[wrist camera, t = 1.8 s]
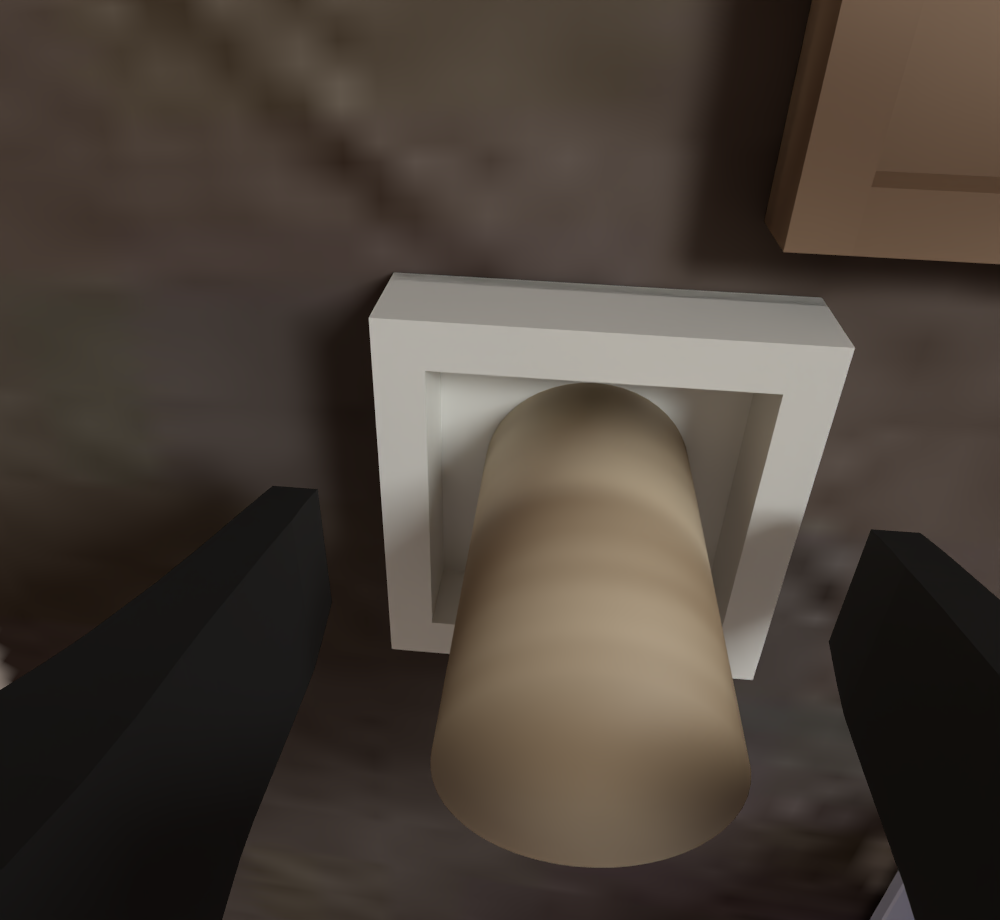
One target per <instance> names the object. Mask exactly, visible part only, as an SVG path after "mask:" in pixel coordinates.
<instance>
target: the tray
mask: <svg viewBox="0 0 1000 920" xmlns="http://www.w3.org/2000/svg"><path fill="white" fill-rule="evenodd" d="M764 222H765V224H766V226H767V227H768V229H769V230H770V232H771V233H772V235H773V237H774V238H775V240H776V241H777V243H778V245H779V246H780V248H781V249H782V251H783V252H790V253H808V254H826V255H844V256H862V257H880V258H897V259H915V260H933V261H951V262H969V263H987V264H1000V0H812V2H811V7H810V11H809V16H808V21H807V25H806V30H805V34H804V39H803V44H802V48H801V53H800V58H799V62H798V67H797V72H796V76H795V81H794V85H793V90H792V95H791V99H790V104H789V109H788V113H787V118H786V122H785V127H784V132H783V136H782V141H781V146H780V150H779V155H778V160H777V164H776V169H775V173H774V178H773V183H772V187H771V192H770V197H769V201H768V206H767V211H766V215H765V220H764Z"/></svg>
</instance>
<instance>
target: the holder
mask: <svg viewBox="0 0 1000 920" xmlns="http://www.w3.org/2000/svg"><path fill="white" fill-rule="evenodd" d="M369 331H370V345H371V359H372V374H373V388H374V402H375V416H376V431H377V445H378V459H379V474H380V488H381V502H382V516H383V531H384V545H385V559H386V574H387V588H388V602H389V617H390V631H391V645H392V649H398V650H410V651H422V652H433V653H445V654H450V649H451V643H452V638H453V632H454V627H455V622H456V616H457V611H458V605H459V600H460V595H461V589H462V584H463V578H464V573H465V568H466V562H467V557H468V551H469V546H470V541H471V535H472V530H473V524H474V519H475V513H476V508H477V503H478V497H479V492H480V486H481V481H482V476H483V470H484V465H485V459H486V454H487V450H488V446H489V443H490V441H491V438H492V436H493V434H494V432H495V430H496V429H497V427H498V426H499V424H500V423H501V421H502V420H503V419H504V418H505V417H506V416H507V414H508V413H509V412H511V411H512V410H513V409H514V408H515V407H516V406H517V405H519V404H520V403H522V402H523V401H525V400H526V399H528V398H529V397H531V396H533V395H535V394H537V393H539V392H542V391H545V390H548V389H550V388H553V387H558V386H562V385H566V384H575V383H600V384H608V385H613V386H617V387H621V388H624V389H627V390H629V391H632V392H635V393H637V394H639V395H641V396H643V397H645V398H646V399H648V400H650V401H651V402H652V403H654V404H655V405H657V406H658V407H659V408H660V409H661V410H663V411H664V412H665V413H666V414H667V415H668V416H669V418H670V419H671V420H672V421H673V423H674V424H675V425H676V427H677V428H678V430H679V432H680V434H681V435H682V438H683V440H684V443H685V446H686V450H687V455H688V459H689V464H690V469H691V474H692V479H693V484H694V489H695V494H696V499H697V504H698V509H699V514H700V519H701V524H702V529H703V534H704V539H705V544H706V549H707V554H708V559H709V564H710V569H711V574H712V579H713V584H714V589H715V594H716V599H717V604H718V609H719V614H720V619H721V624H722V629H723V634H724V639H725V643H726V648H727V653H728V658H729V663H730V668H731V673H732V678H735V679H747V680H753V677H754V674H755V671H756V668H757V664H758V661H759V658H760V655H761V651H762V648H763V645H764V642H765V638H766V635H767V632H768V629H769V625H770V622H771V619H772V616H773V612H774V609H775V606H776V603H777V599H778V596H779V593H780V590H781V586H782V583H783V580H784V577H785V573H786V570H787V567H788V564H789V560H790V557H791V554H792V551H793V548H794V544H795V541H796V538H797V535H798V531H799V528H800V525H801V522H802V518H803V515H804V512H805V509H806V505H807V502H808V499H809V496H810V492H811V489H812V486H813V483H814V479H815V476H816V473H817V470H818V466H819V463H820V460H821V457H822V453H823V450H824V447H825V444H826V440H827V437H828V434H829V431H830V427H831V424H832V421H833V418H834V414H835V411H836V408H837V405H838V401H839V398H840V395H841V392H842V388H843V385H844V382H845V379H846V375H847V372H848V369H849V366H850V362H851V359H852V356H853V353H854V349H855V347H854V346H853V344H852V343H851V341H850V340H849V338H848V337H847V335H846V334H845V332H844V331H843V329H842V328H841V326H840V325H839V323H838V322H837V320H836V319H835V317H834V316H833V314H832V312H831V311H830V309H829V308H828V306H827V305H826V303H825V302H824V300H823V299H822V298H819V297H802V296H785V295H768V294H751V293H734V292H717V291H700V290H683V289H666V288H649V287H632V286H615V285H598V284H581V283H564V282H547V281H530V280H513V279H496V278H479V277H462V276H445V275H428V274H411V273H393V275H392V277H391V278H390V280H389V282H388V284H387V286H386V287H385V289H384V291H383V293H382V295H381V296H380V298H379V300H378V302H377V304H376V305H375V307H374V309H373V311H372V313H371V314H370V316H369Z"/></svg>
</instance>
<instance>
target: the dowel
mask: <svg viewBox="0 0 1000 920" xmlns="http://www.w3.org/2000/svg"><path fill="white" fill-rule="evenodd" d="M430 768H431V775H432V780H433V783H434V786H435V788H436V791H437V793H438V795H439V796H440V798H441V800H442V802H443V803H444V804H445V806H446V807H447V808H448V809H449V811H450V812H451V813H452V814H453V815H454V816H455V817H456V818H457V819H458V820H459V821H460V822H461V823H462V824H464V825H465V826H466V827H468V828H469V829H470V830H471V831H473V832H474V833H476V834H477V835H479V836H481V837H482V838H484V839H486V840H487V841H489V842H491V843H493V844H495V845H497V846H499V847H501V848H503V849H506V850H509V851H511V852H514V853H516V854H519V855H522V856H526V857H529V858H532V859H536V860H540V861H544V862H549V863H554V864H560V865H567V866H575V867H590V868H613V867H626V866H635V865H641V864H647V863H652V862H656V861H660V860H665V859H668V858H671V857H674V856H677V855H680V854H683V853H685V852H687V851H690V850H692V849H694V848H697V847H699V846H700V845H702V844H704V843H706V842H707V841H709V840H711V839H712V838H714V837H715V836H716V835H718V834H719V833H720V832H722V831H723V830H724V829H725V828H726V827H727V826H728V825H729V824H730V823H731V822H732V821H733V820H734V819H735V818H736V816H737V815H738V813H739V812H740V811H741V809H742V808H743V806H744V803H745V801H746V799H747V797H748V794H749V789H750V785H751V768H750V763H749V758H748V753H747V748H746V743H745V738H744V733H743V728H742V723H741V718H740V713H739V708H738V703H737V698H736V693H735V688H734V683H733V678H732V673H731V668H730V663H729V658H728V653H727V648H726V643H725V639H724V634H723V629H722V624H721V619H720V614H719V609H718V604H717V599H716V594H715V589H714V584H713V579H712V574H711V569H710V564H709V559H708V554H707V549H706V544H705V539H704V534H703V529H702V524H701V519H700V514H699V509H698V504H697V499H696V494H695V489H694V484H693V479H692V474H691V469H690V464H689V459H688V455H687V450H686V446H685V443H684V440H683V438H682V435H681V434H680V432H679V430H678V428H677V427H676V425H675V424H674V423H673V421H672V420H671V419H670V418H669V416H668V415H667V414H666V413H665V412H664V411H663V410H661V409H660V408H659V407H658V406H657V405H655V404H654V403H652V402H651V401H650V400H648V399H646V398H645V397H643V396H641V395H639V394H637V393H635V392H632V391H629V390H627V389H624V388H621V387H617V386H613V385H608V384H600V383H575V384H566V385H562V386H558V387H553V388H550V389H548V390H545V391H542V392H539V393H537V394H535V395H533V396H531V397H529V398H528V399H526V400H525V401H523V402H522V403H520V404H519V405H517V406H516V407H515V408H514V409H513V410H512V411H511V412H509V413H508V414H507V416H506V417H505V418H504V419H503V420H502V421H501V423H500V424H499V426H498V427H497V429H496V430H495V432H494V434H493V436H492V438H491V441H490V443H489V446H488V450H487V454H486V459H485V465H484V470H483V476H482V481H481V486H480V492H479V497H478V503H477V508H476V513H475V519H474V524H473V530H472V535H471V541H470V546H469V551H468V557H467V562H466V568H465V573H464V578H463V584H462V589H461V595H460V600H459V605H458V611H457V616H456V622H455V627H454V632H453V638H452V643H451V649H450V654H449V659H448V665H447V670H446V676H445V681H444V686H443V692H442V697H441V703H440V708H439V713H438V719H437V724H436V730H435V735H434V741H433V746H432V751H431V762H430Z"/></svg>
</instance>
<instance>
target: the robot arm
mask: <svg viewBox="0 0 1000 920" xmlns="http://www.w3.org/2000/svg"><path fill="white" fill-rule="evenodd" d="M331 603H332V600H331V592H330V584H329V576H328V568H327V560H326V552H325V544H324V536H323V528H322V520H321V513H320V505H319V497H318V489H307V488H293V487H279V486H272V487H271V488H270V489H269V490H267V491H266V492H265V493H264V494H262V495H261V496H260V497H259V498H257V499H256V500H255V501H254V502H253V503H252V504H250V505H249V506H248V507H247V508H246V509H244V510H243V511H242V512H241V513H240V514H238V515H237V516H236V517H235V518H234V519H233V520H231V521H230V522H229V523H228V524H227V525H225V526H224V527H223V528H222V529H221V530H220V531H218V532H217V533H216V534H215V535H214V536H212V537H211V538H210V539H209V540H208V541H206V542H205V543H204V544H203V545H202V546H201V547H199V548H198V549H197V550H196V551H194V552H193V553H192V554H191V555H190V556H188V557H187V558H186V559H185V560H183V561H182V562H181V563H180V564H178V565H177V566H176V567H175V568H174V569H172V570H171V571H170V572H169V573H167V574H166V575H165V576H164V577H162V578H161V579H160V580H159V581H158V582H156V583H155V584H154V585H152V586H151V587H150V588H148V589H147V590H146V591H144V592H143V593H141V594H140V595H139V596H137V597H136V598H135V599H133V600H132V601H131V602H129V603H128V604H127V605H125V606H124V607H123V608H121V609H120V610H119V611H117V612H116V613H115V614H113V615H112V616H111V617H109V618H108V619H106V620H105V621H104V622H102V623H101V624H100V625H98V626H97V627H96V628H94V629H93V630H92V631H90V632H89V633H87V634H86V635H85V636H83V637H82V638H80V639H79V640H77V641H76V642H74V643H73V644H72V645H70V646H69V647H67V648H66V649H64V650H62V651H61V652H59V653H58V654H56V655H55V656H53V657H52V658H50V659H49V660H47V661H46V662H44V663H43V664H41V665H39V666H38V667H36V668H35V669H33V670H31V671H30V672H28V673H27V674H25V675H24V676H22V677H20V678H19V679H17V680H16V681H14V682H12V683H11V684H9V685H8V686H6V687H4V688H3V689H1V690H0V920H222V918H223V914H224V911H225V908H226V904H227V901H228V897H229V894H230V891H231V887H232V884H233V881H234V877H235V874H236V870H237V867H238V864H239V860H240V857H241V854H242V852H243V849H244V846H245V843H246V840H247V838H248V835H249V832H250V829H251V826H252V824H253V821H254V818H255V816H256V814H257V811H258V809H259V806H260V804H261V801H262V799H263V796H264V794H265V791H266V789H267V786H268V784H269V781H270V779H271V776H272V774H273V771H274V769H275V767H276V764H277V762H278V759H279V757H280V754H281V752H282V749H283V747H284V744H285V742H286V739H287V737H288V734H289V732H290V729H291V727H292V724H293V722H294V719H295V717H296V714H297V712H298V709H299V707H300V704H301V702H302V699H303V697H304V694H305V692H306V689H307V687H308V684H309V682H310V679H311V676H312V674H313V671H314V668H315V665H316V661H317V657H318V654H319V650H320V646H321V643H322V639H323V635H324V631H325V627H326V623H327V619H328V615H329V611H330V607H331ZM829 645H830V650H831V655H832V661H833V666H834V671H835V676H836V682H837V686H838V691H839V695H840V699H841V704H842V708H843V713H844V716H845V719H846V722H847V725H848V728H849V731H850V734H851V737H852V740H853V743H854V746H855V749H856V752H857V754H858V757H859V760H860V763H861V766H862V769H863V772H864V775H865V777H866V780H867V783H868V786H869V789H870V791H871V794H872V797H873V800H874V803H875V805H876V808H877V811H878V814H879V817H880V819H881V822H882V825H883V828H884V831H885V833H886V836H887V839H888V842H889V845H890V847H891V850H892V853H893V856H894V859H895V862H896V864H897V867H898V872H897V873H896V875H895V877H894V879H893V880H892V882H891V884H890V885H889V887H888V889H887V891H886V892H885V894H884V896H883V898H882V899H881V901H880V903H879V905H878V906H877V908H876V910H875V911H874V913H873V915H872V917H871V918H870V920H1000V600H999V599H998V598H997V597H996V596H995V595H994V594H992V593H991V592H990V591H989V590H988V589H987V588H986V587H984V586H983V585H982V584H981V583H980V582H979V581H977V580H976V579H975V578H974V577H973V576H972V575H971V574H969V573H968V572H967V571H966V570H965V569H964V568H962V567H961V566H960V565H959V564H958V563H957V562H955V561H954V560H953V559H952V558H951V557H949V556H948V555H947V554H946V553H945V552H943V551H942V550H941V549H940V548H939V547H937V546H936V545H935V544H934V543H932V542H931V541H930V540H928V539H927V538H926V537H925V536H923V535H922V534H921V533H912V532H898V531H885V530H871V531H870V534H869V536H868V539H867V542H866V544H865V547H864V550H863V552H862V555H861V558H860V560H859V563H858V566H857V568H856V571H855V574H854V576H853V579H852V582H851V584H850V587H849V590H848V592H847V595H846V598H845V600H844V603H843V606H842V608H841V611H840V614H839V616H838V619H837V622H836V624H835V627H834V630H833V632H832V635H831V638H830V640H829Z"/></svg>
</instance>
